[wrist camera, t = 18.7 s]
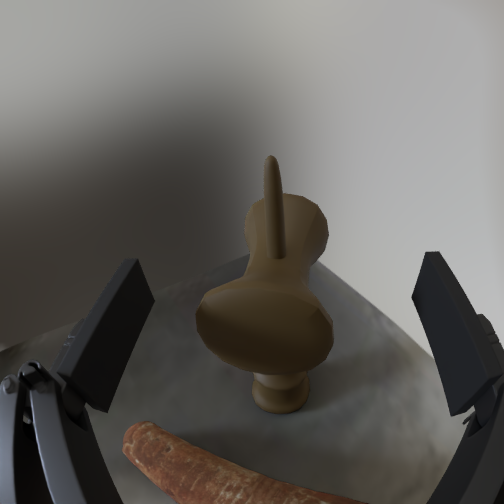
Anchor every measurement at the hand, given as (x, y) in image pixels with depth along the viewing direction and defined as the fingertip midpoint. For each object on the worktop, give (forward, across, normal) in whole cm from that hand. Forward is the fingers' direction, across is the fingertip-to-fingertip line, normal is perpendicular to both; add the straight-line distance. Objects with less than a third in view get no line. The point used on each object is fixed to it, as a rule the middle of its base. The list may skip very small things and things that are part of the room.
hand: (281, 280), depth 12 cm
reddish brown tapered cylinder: (-9, -4, -15) cm, 18 cm away
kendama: (+2, 0, -15) cm, 16 cm away
